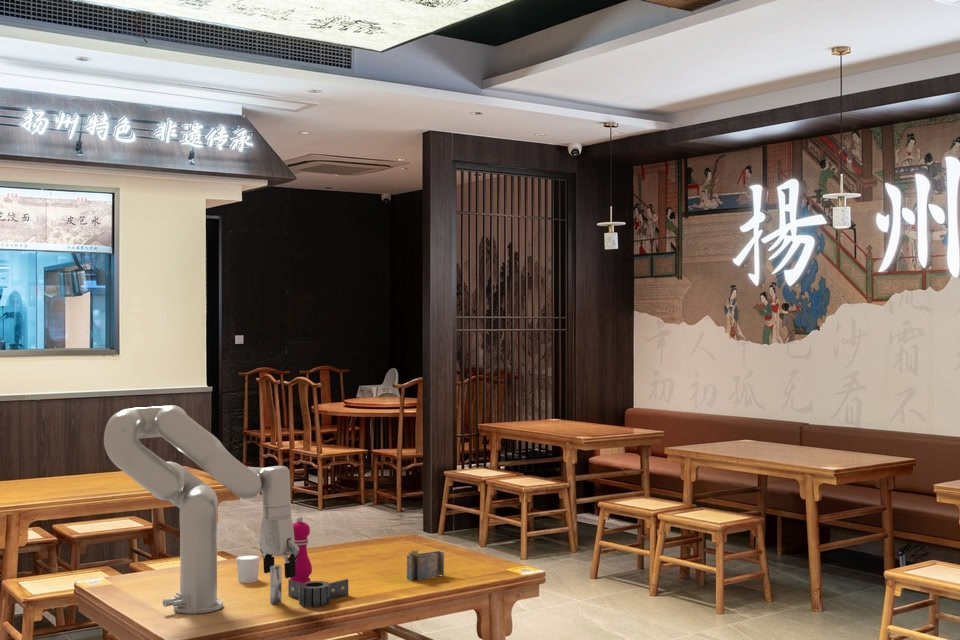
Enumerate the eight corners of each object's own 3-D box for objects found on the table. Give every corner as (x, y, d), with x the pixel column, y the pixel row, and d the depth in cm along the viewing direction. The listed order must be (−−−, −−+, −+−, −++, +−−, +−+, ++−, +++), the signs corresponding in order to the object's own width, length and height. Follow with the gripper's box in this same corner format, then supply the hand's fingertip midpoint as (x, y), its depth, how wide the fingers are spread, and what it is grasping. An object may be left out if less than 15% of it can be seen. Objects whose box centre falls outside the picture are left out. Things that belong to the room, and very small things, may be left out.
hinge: (311, 608, 258) (311, 590, 258) (277, 598, 268) (277, 580, 269) (357, 597, 269) (357, 579, 269) (322, 587, 280) (322, 570, 280)
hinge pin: (274, 605, 262) (274, 567, 262) (268, 603, 264) (268, 566, 264) (283, 602, 264) (283, 566, 264) (277, 600, 266) (277, 564, 266)
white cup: (242, 584, 284) (242, 560, 284) (232, 580, 289) (232, 556, 290) (263, 581, 289) (263, 557, 289) (253, 576, 294) (253, 553, 294)
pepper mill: (306, 588, 279) (306, 519, 279) (283, 587, 280) (283, 518, 281) (315, 582, 286) (315, 514, 286) (292, 581, 287) (292, 514, 288)
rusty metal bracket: (411, 583, 287) (411, 550, 287) (407, 581, 290) (407, 548, 290) (444, 578, 293) (444, 545, 293) (439, 576, 296) (439, 544, 296)
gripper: (247, 511, 268) (250, 573, 268) (284, 517, 256) (287, 582, 256) (270, 506, 273) (272, 567, 273) (307, 512, 261) (310, 576, 261)
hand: (279, 574), depth 264 cm, fingers open, 9 cm apart
